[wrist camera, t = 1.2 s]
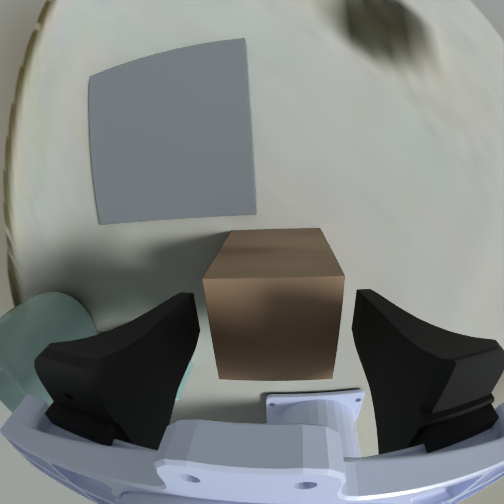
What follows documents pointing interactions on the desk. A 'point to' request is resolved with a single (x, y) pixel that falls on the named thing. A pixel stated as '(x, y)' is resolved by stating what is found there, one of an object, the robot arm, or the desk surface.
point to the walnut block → (275, 305)
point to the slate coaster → (173, 135)
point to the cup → (36, 341)
